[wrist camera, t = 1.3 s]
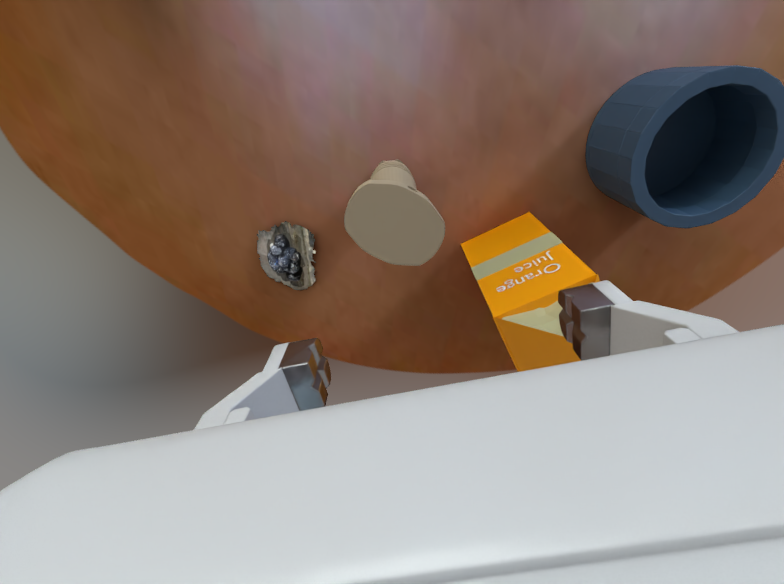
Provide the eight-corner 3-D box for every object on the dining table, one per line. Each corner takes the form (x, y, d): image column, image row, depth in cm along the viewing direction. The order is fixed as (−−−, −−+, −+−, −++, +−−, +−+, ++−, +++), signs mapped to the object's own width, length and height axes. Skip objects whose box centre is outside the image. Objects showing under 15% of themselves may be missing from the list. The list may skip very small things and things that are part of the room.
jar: (585, 86, 35) (635, 88, 28) (724, 53, 34) (812, 47, 27) (584, 212, 41) (626, 241, 34) (704, 187, 40) (774, 211, 33)
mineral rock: (304, 211, 40) (301, 217, 39) (336, 279, 44) (334, 287, 42) (244, 233, 41) (238, 240, 40) (280, 298, 45) (276, 306, 43)
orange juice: (488, 308, 46) (554, 454, 28) (458, 244, 42) (512, 364, 24) (556, 280, 44) (669, 415, 27) (531, 210, 41) (644, 313, 23)
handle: (408, 212, 40) (420, 278, 27) (350, 182, 39) (332, 236, 26) (433, 168, 38) (458, 216, 25) (372, 134, 37) (365, 167, 24)
